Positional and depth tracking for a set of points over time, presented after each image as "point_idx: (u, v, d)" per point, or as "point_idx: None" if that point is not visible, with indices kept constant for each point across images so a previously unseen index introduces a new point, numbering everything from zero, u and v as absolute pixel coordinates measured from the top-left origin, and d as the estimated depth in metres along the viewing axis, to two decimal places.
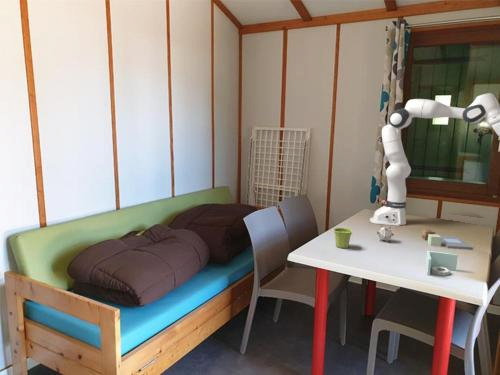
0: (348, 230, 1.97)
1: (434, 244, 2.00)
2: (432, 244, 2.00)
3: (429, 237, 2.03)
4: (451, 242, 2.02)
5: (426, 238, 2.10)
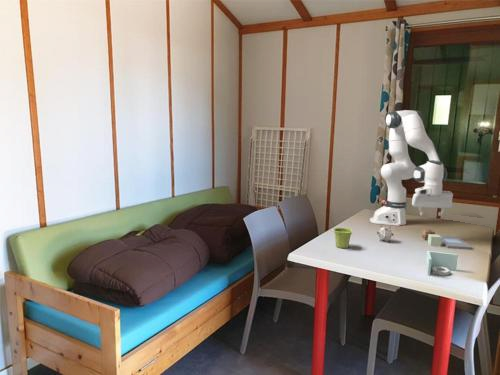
0: (348, 230, 1.97)
1: (434, 244, 2.00)
2: (432, 244, 2.00)
3: (429, 237, 2.03)
4: (451, 242, 2.02)
5: (426, 238, 2.10)
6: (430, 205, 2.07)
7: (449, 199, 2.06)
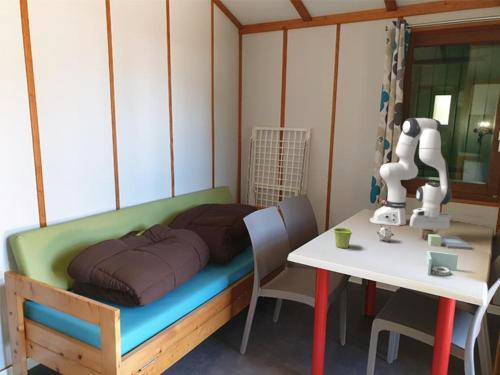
0: (348, 230, 1.97)
1: (434, 244, 2.00)
2: (432, 244, 2.00)
3: (429, 237, 2.03)
4: (451, 242, 2.02)
5: (426, 238, 2.10)
6: (428, 226, 2.09)
7: (446, 221, 2.08)
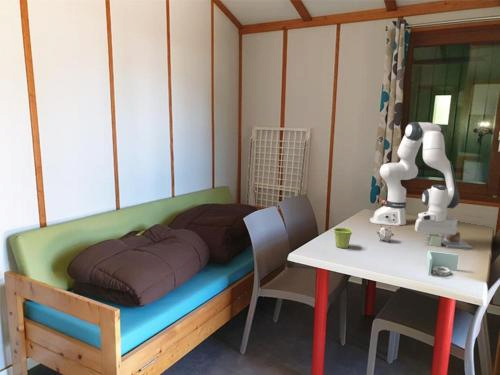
0: (348, 230, 1.97)
1: (434, 244, 2.00)
2: (432, 244, 2.00)
3: (429, 237, 2.03)
4: (451, 242, 2.02)
5: (451, 239, 2.03)
6: (434, 231, 2.00)
7: (453, 226, 1.98)
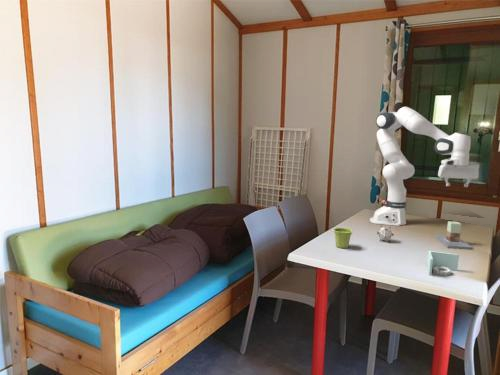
0: (348, 230, 1.97)
1: (454, 231, 2.02)
2: (452, 231, 2.02)
3: (449, 224, 2.05)
4: (451, 242, 2.02)
5: (451, 239, 2.03)
6: (456, 176, 2.11)
7: (475, 170, 2.09)
